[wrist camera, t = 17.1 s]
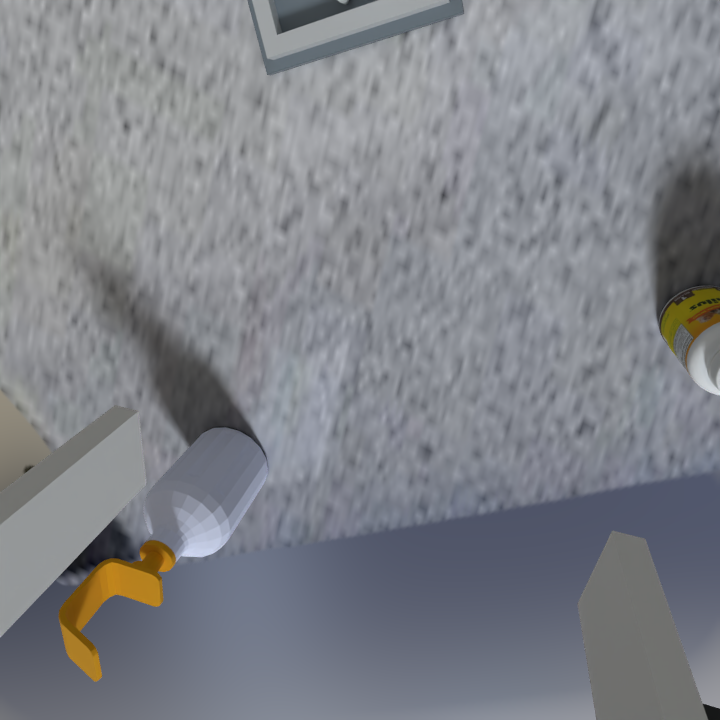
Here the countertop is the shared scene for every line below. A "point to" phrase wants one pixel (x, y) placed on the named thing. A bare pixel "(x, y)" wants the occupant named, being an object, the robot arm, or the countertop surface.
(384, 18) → the slate base tray
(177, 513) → the soap bottle
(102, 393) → the countertop surface
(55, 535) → the robot arm
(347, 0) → the supplement box
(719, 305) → the supplement bottle
